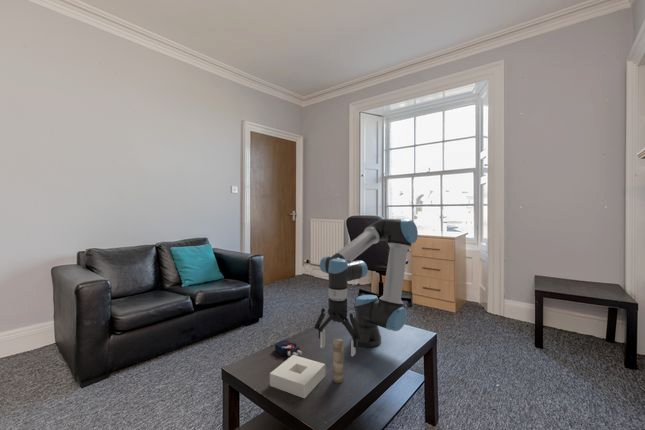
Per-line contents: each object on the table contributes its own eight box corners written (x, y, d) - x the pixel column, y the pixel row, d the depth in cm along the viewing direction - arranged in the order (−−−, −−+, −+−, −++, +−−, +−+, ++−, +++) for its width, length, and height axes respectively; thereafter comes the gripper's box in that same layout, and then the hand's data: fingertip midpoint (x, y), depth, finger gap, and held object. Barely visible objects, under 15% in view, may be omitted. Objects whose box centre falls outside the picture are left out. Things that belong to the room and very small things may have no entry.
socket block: (293, 365, 128) (293, 354, 128) (325, 375, 120) (325, 364, 120) (270, 385, 114) (269, 373, 114) (304, 398, 106) (304, 385, 106)
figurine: (291, 354, 130) (272, 343, 141) (291, 363, 130) (272, 351, 141) (306, 347, 137) (286, 337, 147) (306, 356, 137) (286, 345, 147)
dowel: (336, 376, 120) (335, 338, 120) (344, 378, 118) (344, 340, 118) (331, 381, 117) (331, 342, 116) (340, 384, 115) (340, 344, 114)
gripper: (306, 295, 119) (306, 347, 119) (363, 306, 107) (363, 363, 107) (315, 291, 126) (315, 340, 126) (370, 300, 114) (370, 354, 114)
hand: (337, 350), depth 117 cm, fingers open, 13 cm apart
